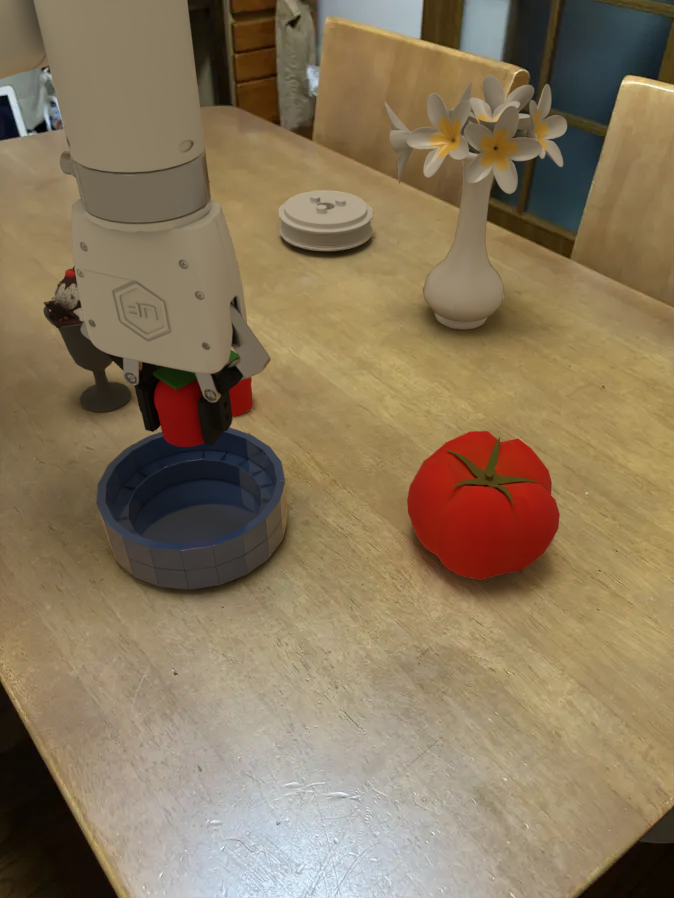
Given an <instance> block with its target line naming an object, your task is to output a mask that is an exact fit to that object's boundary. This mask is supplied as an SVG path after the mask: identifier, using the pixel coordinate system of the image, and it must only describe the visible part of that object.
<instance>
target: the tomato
mask: <svg viewBox="0 0 674 898" xmlns="http://www.w3.org/2000/svg"><path fill="white" fill-rule="evenodd" d="M552 481H553V480H552V478H551V473H550V470H549V469H548V467H547V466H546V465H545V463H544V462H543V461H542V460H541V458H540V457H539V456H538V454H537V453H536V452H535V451H534V450H533V448H531V447H530V446H529V445H527V444H526V443H525V442H524V441H523V440H521V439H520V438H512V439H508V440H504V441H503V440H502V441H501V436H499V437H498V438H497V437H496V436H495V435H493V434H492V433H491V432H490V431H488V430H478V431H477V430H476V431H475V430H473V431H468V432H465V433H463V434H461V435H459V436H457V437H454V438H452V439H450V440H448V441H446V442H445V443H444V444H442V445H441V446H440V447H439V448H438V449H437V450H435V452H433V453H432V454H431V455H430V456H428V457H427V458H426V459H425V460H423V462H422V463H421V465H420V467H419V469H418V471H417V472H416V474H415V476H414V478H413V479H412V481H411V483H410V485H409V489H408V492H407V499H406V505H407V514H408V517H409V520H410V523H411V525H412V527H413V530H414V532H415V535H416V537H417V539H418V540H419V542H420V543H421V544H422V546H423V547H424V548H425V550H428V551H429V552H430V553H432V554H434V555H435V556H437V557H438V559H439V561H440V562H441V564H443V566H444V567H445V568H446V569H448V570H449V571H451V572H453V573H454V574H456V575H458V576H460V577H465V578H469V579H475V580H480V581H481V580H486V579H490V578H494V577H497V576H501V575H505V574H506V575H507V574H512V573H513V574H514V573H517V572H522V571H523V570H525V569H526V568H528V567H529V566H531V565H532V564H534V562H536V561H538V560H539V559H540V558H541V557H542V556H544V554H545V553H546V551H547V549H549V547H550V545H551V543H552V542H553V540H554V538H555V536H556V534H557V532H558V531H559V529H560V528H559V527H560V516H561V514H560V510H559V507H558V503H557V501H556V499H555V497H554V496H553V495H552V488H553V487H552V486H553V483H552Z"/></svg>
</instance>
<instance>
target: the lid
mask: <svg viewBox="0 0 674 898" xmlns="http://www.w3.org/2000/svg"><path fill="white" fill-rule="evenodd" d="M277 214H278V217H279V218H278V219H279V220H280V225H279V235H280V237H281V238H282V239H283V241H285V242H287V243H288V244H290V245H292V246H294V247H297V248H300V249H304V250H309V251H316V252H338V251H344V250H350V249H354V248H357V247H359V246H361V245H363V244H365V243H366V242H367V241H369V240H370V239H371V237H372V236H373V226H372V225H371V223H372V220H373V217H374V211H373V209H372V207H371V206H370V205H369V204H368V203H367V202H366V201H364V200H363V199H362V198H361V197H359V196H357V195H355V194H353V193H349V192H345V191H340V190H339V191H338V190H329V189H327V190H326V189H319V190H318V189H317V190H309V191H305V192H301V193H298V194H294V195H293V196H291V197H290V198H288V199H287V200H286V201H285V202H284V203H283V204H282V205H281V206H280V207H279V209H278V213H277Z"/></svg>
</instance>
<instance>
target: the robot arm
mask: <svg viewBox="0 0 674 898" xmlns="http://www.w3.org/2000/svg"><path fill="white" fill-rule="evenodd" d="M190 21H191V20H190V12H189V4H188V0H0V80H3V79H6V78H8V77H12V76H16V75H18V74H22V73H25V72H30V71H35V70H39V69H42V68H46V67H49V72H50V76H51V80H52V84H53V88H54V93H55V97H56V101H57V106H58V110H59V114H60V118H61V122H62V126H63V130H64V134H65V139H66V143H67V145H68V150H64V151H63V152H62V153H61V154H60V157H59V167H60V170H61V171H62V172H63V174H65V175H69V176H72V177H74V178H75V180H76V185H77V188H78V192H79V197H80V199H77V200H76V201H74V203H73V204H72V206H71V247H72V256H73V267H74V266H75V269H74V270H75V273H76V280H77V286H78V291H79V297H80V302H81V307H82V311H83V316H84V322H83V324H82V326H81V329H80V330H81V333H82V334H83V335H84V336H85V337H86V338H88V339H89V340H90V341H92V343H93V345H94V346H95V347H97V348H98V349H99V350H101V351H103V352H105V353H106V355H107V356H108V357H109V358H110V359H111V360H112V361H113V362H112V363H114V364H115V365H116V366H117V367H119V369H120V370H121V371H123V372H122V373H123V379H124V381H125V382H126V383H127V384H129V385H130V386H132V387H134V392H135V396H136V401H137V404H138V409H139V411H140V413H141V418H142V421H143V425H144V430H145V431H146V432H147V431H149V432H152V433H153V432H155V431H158V429H159V428H161V425H160V420H159V416H158V411H157V409H156V407H155V403H154V392H155V388H156V386H157V384H158V382H159V381H160V379H158V378H156V377H155V376H154V375H153V372H155V371H157V370H159V369H161V368H163V367H169V368H174V369H179V370H184V371H189V372H194V373H195V375H196V378H197V380H198V383H199V386H200V389H201V391H202V394H203V395H202V396H201V397H200V399H199V400H198V402H197V407H198V413H199V419H200V425H201V431H202V437H203V441H204V442H205V444H208V445H212V446H213V445H214V444H215V442H216V441H217V440H218V438H219V437H220V436H221V434H222V433H223V432H224V431H227V430H228V428H231V425H232V423H233V416H232V408H231V401H230V393H229V390H230V389H232V388H233V387H234V386H235V385H237V384H238V383H239V381H241V380H244V379H248V378H250V377H251V378H253V377H254V376H257V375H259V374H261V373H262V372H263V371H264V370H265V369H266V368H267V366H268V365H269V364H270V362H271V356H270V354H269V353H268V351H267V350H266V349H265V347H264V346H263V344H262V343H261V341H260V340H259V338H258V337H257V336H256V334H255V333H254V332H253V331H252V329H251V327H250V326H249V325H248V321H247V318H248V317H247V308H246V301H245V294H244V288H243V283H242V278H241V272H240V267H239V263H238V259H237V258H238V257H237V254H236V250H235V246H234V242H233V238H232V236H231V232H230V229H229V226H228V222H227V219H226V217H225V214H224V211H223V208H222V206H221V203H220V202H218V201H214V200H212V194H211V186H210V178H209V170H208V169H209V168H208V161H207V154H206V143H205V135H204V127H203V120H202V111H201V102H200V94H199V87H198V79H197V69H196V61H195V53H194V45H193V37H192V28H191V22H190ZM232 349H233V350H234V352H236V353H237V354H238V355H239V357H240V358H236V359H234V360H233V361H232V362H230V359H229V358H230V353H231V350H232ZM215 374H216V375H215Z"/></svg>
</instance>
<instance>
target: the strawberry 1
mask: <svg viewBox="0 0 674 898" xmlns="http://www.w3.org/2000/svg"><path fill="white" fill-rule="evenodd" d="M153 375H154V376H155V377H156V378H158V379H160V381H159V382H158V384H157V386H156V388H155V392H154V403H155V407H156V409H157V411H158V416H159V420H160V429H161V430H160V431H161V432H162V434H163V437H164V439H165V440H166V441H167V442H168V443H170V444H172V445H175V446H180V447H191V446H196V445H200V444H202V443H204V441H203V437H202V431H201V425H200V419H199V413H198V407H197V402H198V400H199V399H200V397H201V396H202V395H203V394H202V391H201V389H200V386H199V383H198V380H197V378H196V375H195V373H194V372H189V371H184V370H179V369H174V368H169V367H163V368H161V369H159V370H157V371H155V372H153Z"/></svg>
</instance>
